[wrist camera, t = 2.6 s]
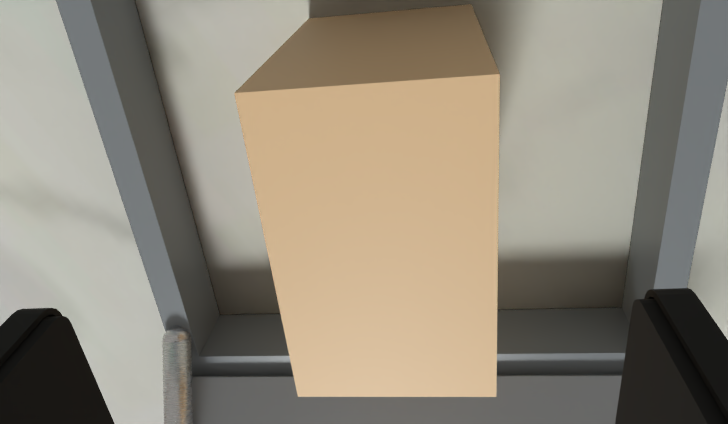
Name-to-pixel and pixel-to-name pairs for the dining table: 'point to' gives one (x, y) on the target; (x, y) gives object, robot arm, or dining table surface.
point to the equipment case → (514, 327)
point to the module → (381, 201)
